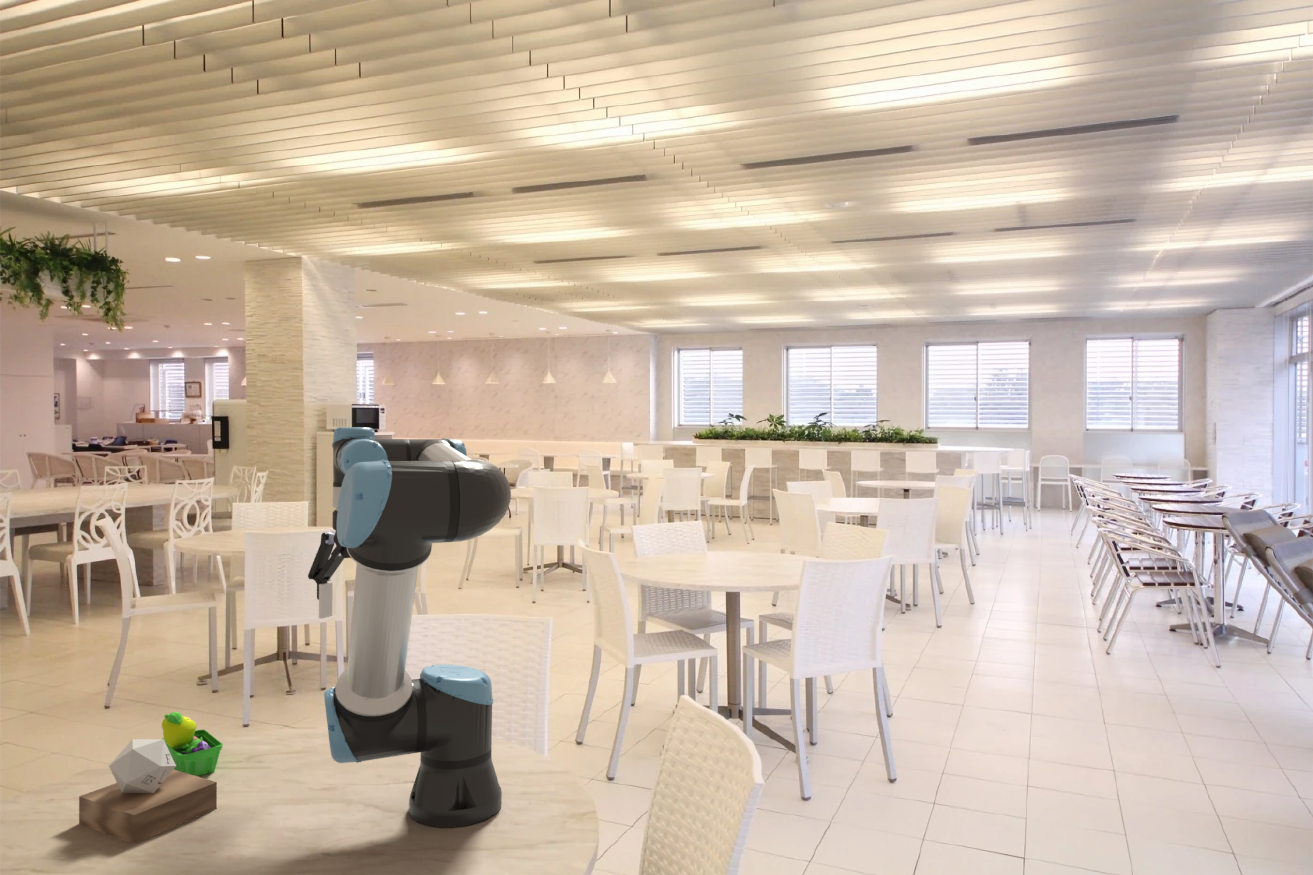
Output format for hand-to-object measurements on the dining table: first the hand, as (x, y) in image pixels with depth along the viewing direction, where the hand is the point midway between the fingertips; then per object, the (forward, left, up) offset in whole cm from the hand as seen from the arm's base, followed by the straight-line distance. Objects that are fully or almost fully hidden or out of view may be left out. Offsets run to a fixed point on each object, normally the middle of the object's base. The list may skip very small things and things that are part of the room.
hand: (352, 620), depth 167 cm
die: (+14, +32, -23) cm, 42 cm away
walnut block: (+13, +32, -27) cm, 44 cm away
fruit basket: (+24, +16, -27) cm, 40 cm away
